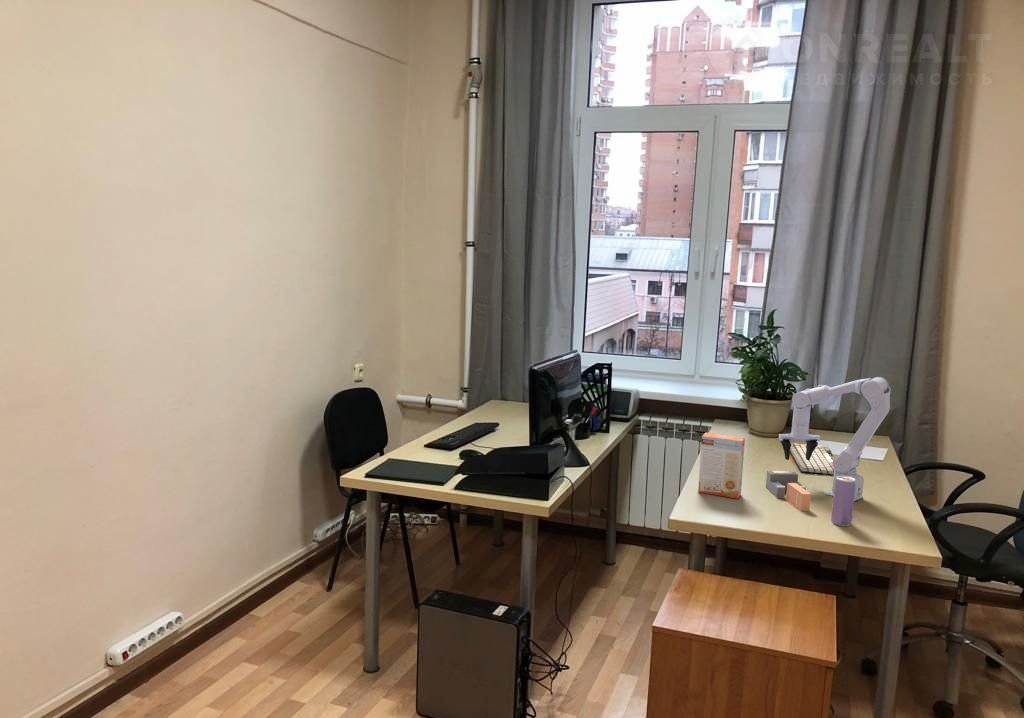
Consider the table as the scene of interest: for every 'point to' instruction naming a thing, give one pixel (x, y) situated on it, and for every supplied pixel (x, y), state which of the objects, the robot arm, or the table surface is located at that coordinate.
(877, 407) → the robot arm
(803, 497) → the salmon long block
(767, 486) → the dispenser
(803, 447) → the mechanical keyboard
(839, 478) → the beverage can
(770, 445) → the table surface
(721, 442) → the cracker box
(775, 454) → the table surface
